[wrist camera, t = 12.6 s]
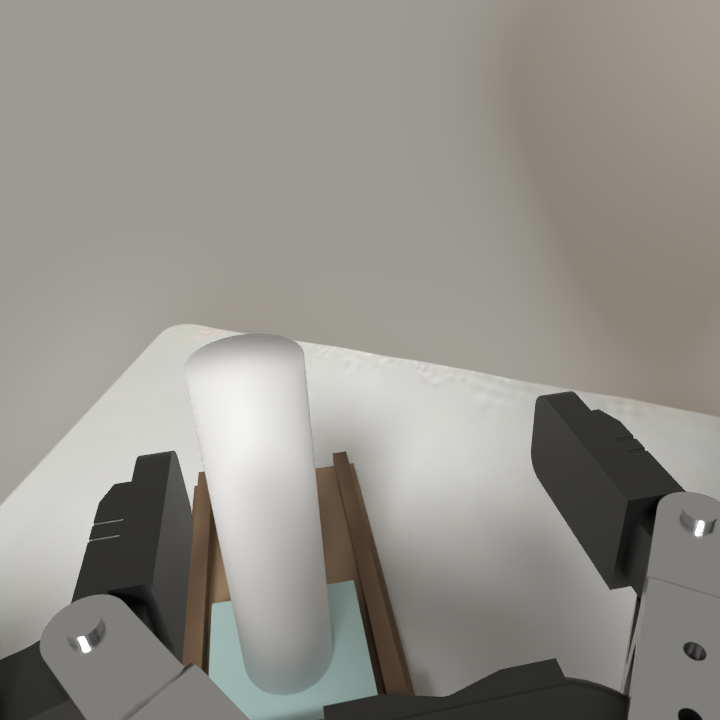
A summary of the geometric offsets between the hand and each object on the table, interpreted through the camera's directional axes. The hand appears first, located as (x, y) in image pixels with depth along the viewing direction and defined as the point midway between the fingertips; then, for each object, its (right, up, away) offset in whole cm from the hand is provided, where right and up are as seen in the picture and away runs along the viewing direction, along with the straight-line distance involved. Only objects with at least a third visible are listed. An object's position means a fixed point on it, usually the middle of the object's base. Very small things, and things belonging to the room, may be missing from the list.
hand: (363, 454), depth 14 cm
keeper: (-4, -14, +19) cm, 24 cm away
